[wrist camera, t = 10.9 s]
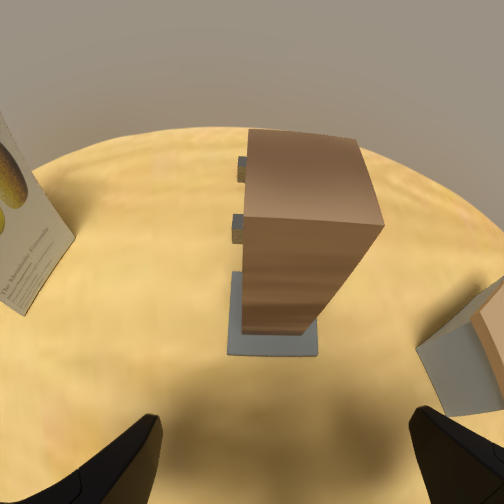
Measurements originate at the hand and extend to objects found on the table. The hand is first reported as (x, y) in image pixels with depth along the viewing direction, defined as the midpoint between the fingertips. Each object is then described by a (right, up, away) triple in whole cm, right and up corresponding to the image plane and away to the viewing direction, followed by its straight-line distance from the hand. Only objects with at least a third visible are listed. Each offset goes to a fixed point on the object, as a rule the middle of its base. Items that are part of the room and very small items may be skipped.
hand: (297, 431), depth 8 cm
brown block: (0, +2, +11) cm, 12 cm away
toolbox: (+17, -3, +10) cm, 20 cm away
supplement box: (-23, +5, +13) cm, 28 cm away
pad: (0, +1, +12) cm, 12 cm away
